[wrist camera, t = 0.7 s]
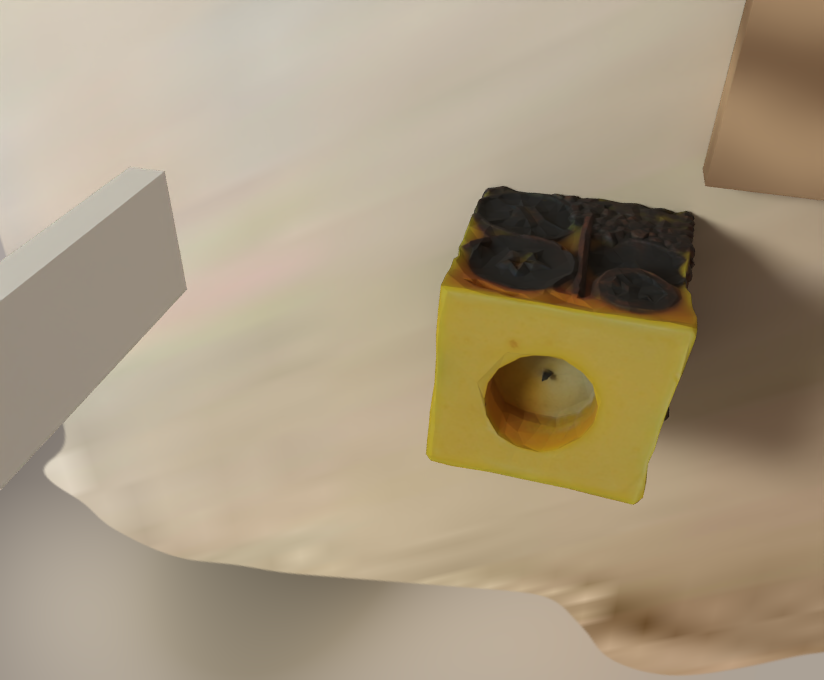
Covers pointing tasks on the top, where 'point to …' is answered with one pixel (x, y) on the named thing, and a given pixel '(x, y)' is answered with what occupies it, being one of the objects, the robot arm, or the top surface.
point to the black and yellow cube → (562, 340)
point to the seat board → (772, 104)
